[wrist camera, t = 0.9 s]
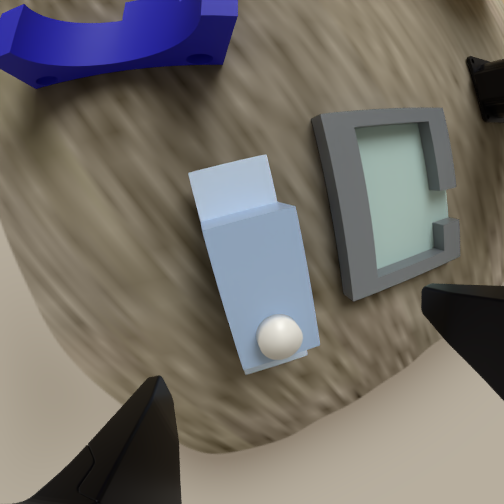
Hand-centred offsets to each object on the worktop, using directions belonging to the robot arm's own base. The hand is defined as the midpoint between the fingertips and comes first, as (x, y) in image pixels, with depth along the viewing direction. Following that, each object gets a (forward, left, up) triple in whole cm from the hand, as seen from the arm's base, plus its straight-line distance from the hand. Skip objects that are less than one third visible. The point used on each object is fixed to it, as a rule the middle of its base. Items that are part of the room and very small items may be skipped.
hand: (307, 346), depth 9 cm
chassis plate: (-11, -2, -10) cm, 15 cm away
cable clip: (+4, -15, -10) cm, 19 cm away
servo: (0, 0, -10) cm, 10 cm away
